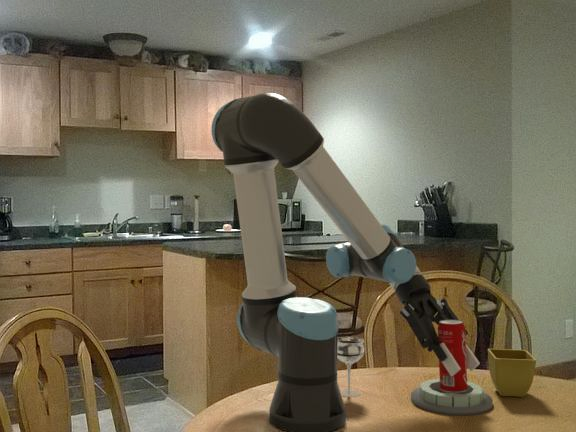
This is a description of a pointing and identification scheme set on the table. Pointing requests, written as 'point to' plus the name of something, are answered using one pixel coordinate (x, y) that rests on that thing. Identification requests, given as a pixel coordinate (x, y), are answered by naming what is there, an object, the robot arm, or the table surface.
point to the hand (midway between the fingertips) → (465, 369)
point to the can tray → (451, 409)
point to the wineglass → (350, 357)
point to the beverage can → (456, 344)
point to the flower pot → (511, 371)
